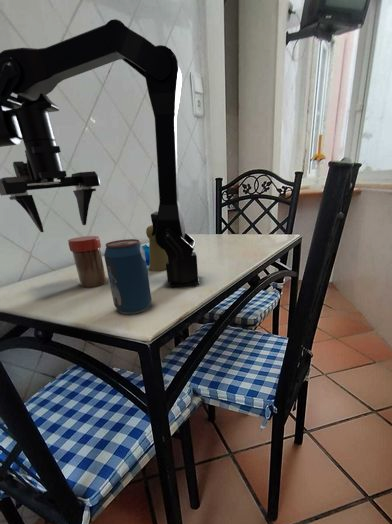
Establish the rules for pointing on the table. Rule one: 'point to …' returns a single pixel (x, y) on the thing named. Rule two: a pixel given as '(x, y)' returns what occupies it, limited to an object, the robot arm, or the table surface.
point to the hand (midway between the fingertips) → (63, 228)
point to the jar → (90, 268)
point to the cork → (156, 252)
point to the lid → (84, 243)
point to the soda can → (128, 275)
